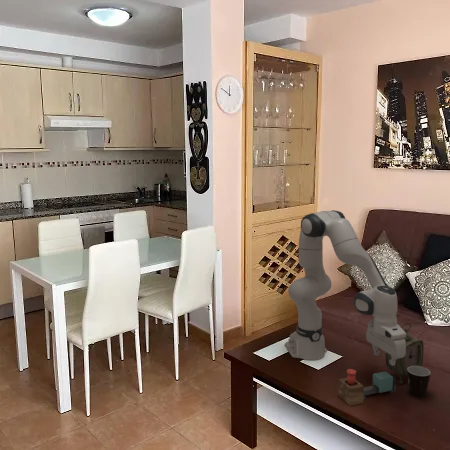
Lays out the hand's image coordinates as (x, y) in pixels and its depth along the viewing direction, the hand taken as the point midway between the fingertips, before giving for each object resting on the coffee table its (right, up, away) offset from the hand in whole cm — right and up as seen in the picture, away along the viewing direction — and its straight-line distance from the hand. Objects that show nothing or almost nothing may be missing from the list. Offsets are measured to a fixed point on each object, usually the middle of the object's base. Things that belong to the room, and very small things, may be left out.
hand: (384, 359), depth 187 cm
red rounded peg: (-14, -9, -3) cm, 17 cm away
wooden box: (-14, -15, -2) cm, 21 cm away
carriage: (0, -12, +2) cm, 13 cm away
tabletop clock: (+13, -12, +14) cm, 23 cm away
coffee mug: (+13, -14, 0) cm, 19 cm away
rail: (-3, -14, +2) cm, 15 cm away
